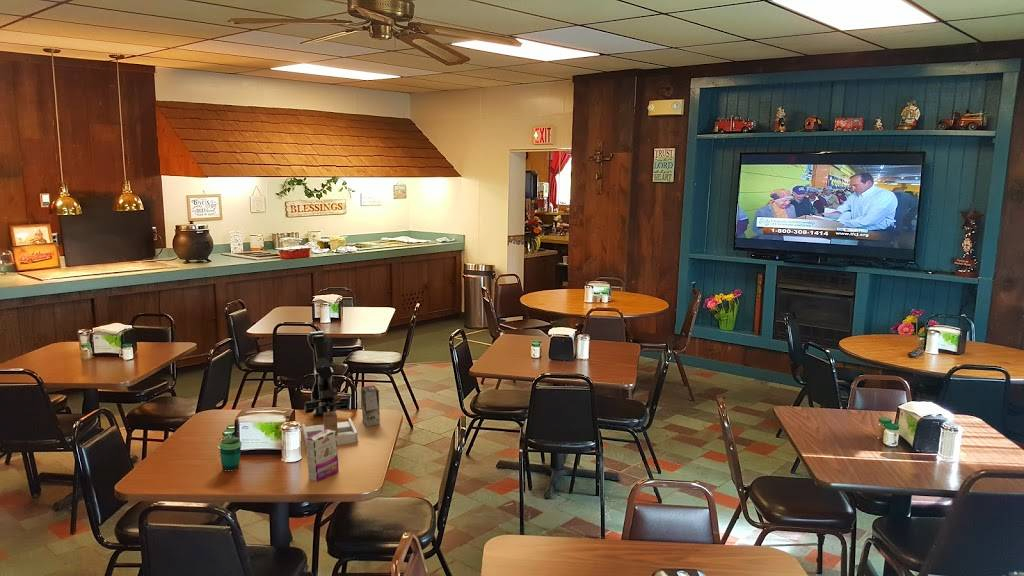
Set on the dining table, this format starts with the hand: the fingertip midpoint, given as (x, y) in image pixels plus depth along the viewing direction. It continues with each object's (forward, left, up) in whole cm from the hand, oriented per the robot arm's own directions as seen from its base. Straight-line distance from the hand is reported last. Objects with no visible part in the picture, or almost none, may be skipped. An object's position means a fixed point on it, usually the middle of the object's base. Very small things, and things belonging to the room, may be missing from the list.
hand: (329, 422), depth 309 cm
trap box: (-3, -1, -7) cm, 8 cm away
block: (+3, +1, -5) cm, 6 cm away
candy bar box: (+38, +7, -8) cm, 39 cm away
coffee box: (-21, +14, -8) cm, 26 cm away
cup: (+31, -30, -8) cm, 44 cm away
